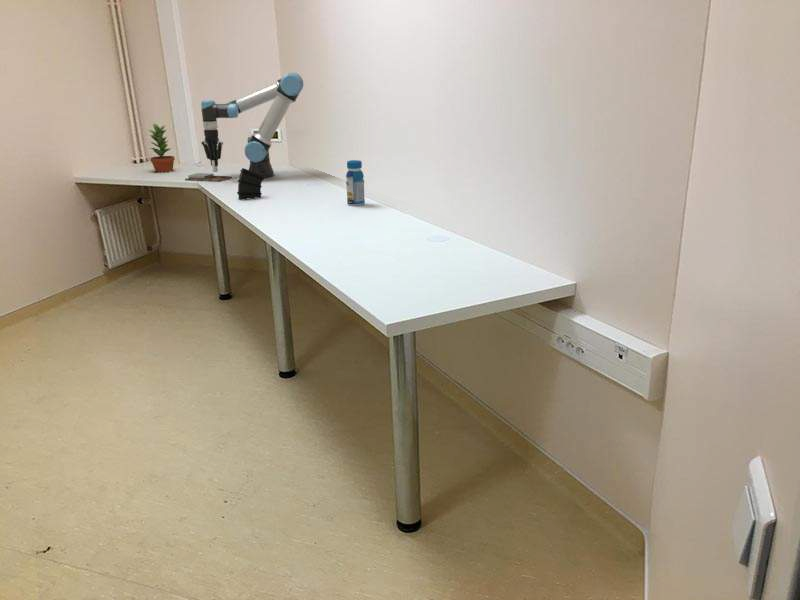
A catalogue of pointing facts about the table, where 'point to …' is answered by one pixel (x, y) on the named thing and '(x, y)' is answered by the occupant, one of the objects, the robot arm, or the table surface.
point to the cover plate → (201, 176)
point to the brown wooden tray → (215, 179)
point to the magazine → (249, 184)
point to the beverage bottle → (355, 183)
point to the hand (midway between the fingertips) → (215, 171)
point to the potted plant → (161, 151)
